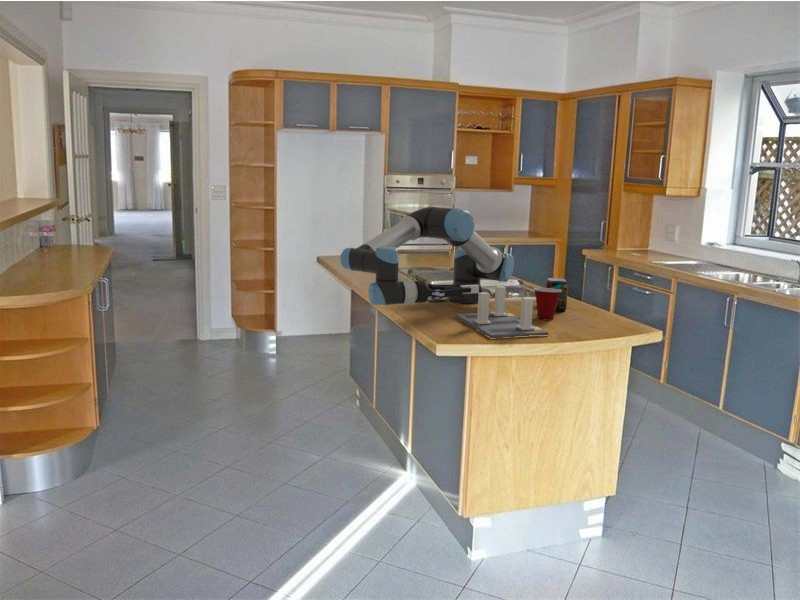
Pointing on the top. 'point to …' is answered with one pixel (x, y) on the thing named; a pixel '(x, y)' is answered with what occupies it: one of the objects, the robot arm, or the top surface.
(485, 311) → the slider
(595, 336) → the top surface
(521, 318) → the slider
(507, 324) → the grey base board
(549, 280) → the canned food
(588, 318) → the top surface
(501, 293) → the slider
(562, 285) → the beverage can
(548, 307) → the plastic cup
